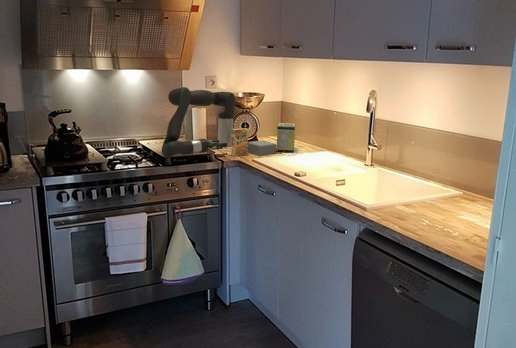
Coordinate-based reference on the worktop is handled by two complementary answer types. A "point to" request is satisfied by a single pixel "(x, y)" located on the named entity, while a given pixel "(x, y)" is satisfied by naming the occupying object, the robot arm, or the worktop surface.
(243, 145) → the candy box
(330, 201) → the worktop surface
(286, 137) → the protein box
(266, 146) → the podium
